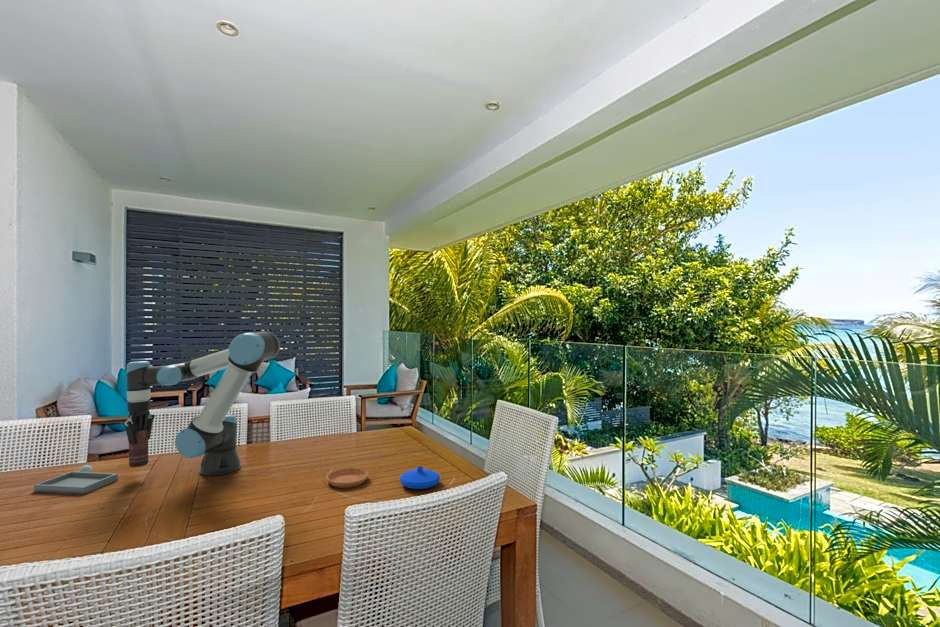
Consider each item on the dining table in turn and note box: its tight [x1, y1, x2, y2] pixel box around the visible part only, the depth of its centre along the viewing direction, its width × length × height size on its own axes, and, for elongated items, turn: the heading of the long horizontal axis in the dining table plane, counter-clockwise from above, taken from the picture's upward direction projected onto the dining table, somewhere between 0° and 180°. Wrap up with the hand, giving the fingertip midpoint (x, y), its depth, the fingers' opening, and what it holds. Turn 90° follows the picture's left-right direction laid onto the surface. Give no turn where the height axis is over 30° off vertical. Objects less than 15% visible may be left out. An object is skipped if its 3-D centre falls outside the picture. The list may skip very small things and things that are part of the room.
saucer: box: [326, 467, 369, 489], centre depth 176 cm, size 16×16×3 cm
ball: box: [79, 464, 93, 472], centre depth 181 cm, size 4×4×4 cm
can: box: [128, 429, 149, 468], centre depth 176 cm, size 6×6×14 cm
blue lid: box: [399, 465, 441, 490], centre depth 173 cm, size 16×16×7 cm
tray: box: [33, 470, 119, 495], centre depth 169 cm, size 20×14×2 cm
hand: (140, 459), depth 176 cm, fingers closed
